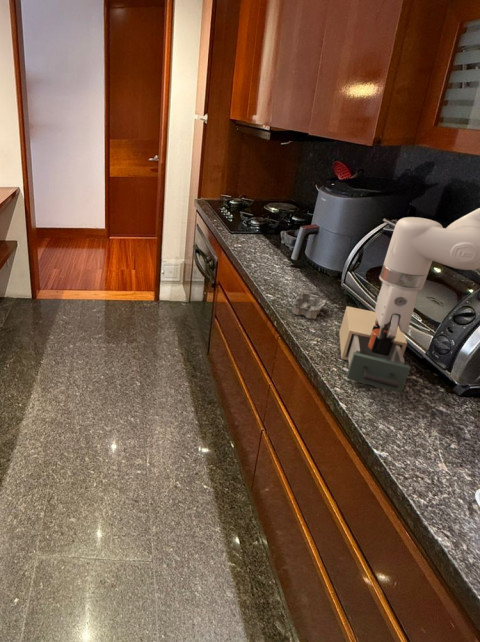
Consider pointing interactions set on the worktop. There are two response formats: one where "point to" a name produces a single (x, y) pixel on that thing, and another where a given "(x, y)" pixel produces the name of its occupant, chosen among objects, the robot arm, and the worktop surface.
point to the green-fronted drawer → (376, 365)
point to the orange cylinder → (373, 336)
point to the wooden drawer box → (362, 328)
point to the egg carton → (307, 305)
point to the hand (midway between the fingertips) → (378, 347)
